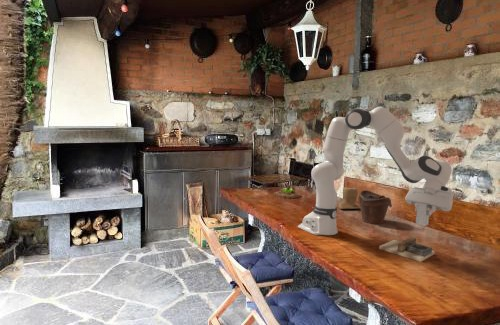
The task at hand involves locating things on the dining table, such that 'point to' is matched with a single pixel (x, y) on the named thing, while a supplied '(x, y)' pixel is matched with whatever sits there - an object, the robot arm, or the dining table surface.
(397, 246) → the beige board with divider
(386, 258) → the dining table surface
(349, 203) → the tan boot
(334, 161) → the robot arm
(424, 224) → the grey square block
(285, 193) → the plant
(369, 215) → the brown tapered bucket
